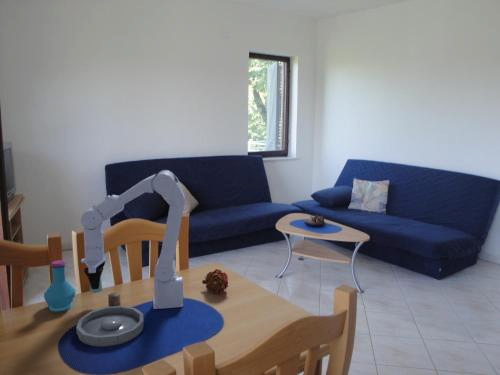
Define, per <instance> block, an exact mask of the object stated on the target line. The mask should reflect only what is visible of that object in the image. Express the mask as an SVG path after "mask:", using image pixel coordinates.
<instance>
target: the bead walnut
mask: <svg viewBox="0 0 500 375" xmlns="http://www.w3.org/2000/svg"><path fill="white" fill-rule="evenodd" d="M107 298H108V299H107V300H108V301H107V304H108V307H112V306H121V293H119V292H112V293H109V294H108V295H107Z"/></svg>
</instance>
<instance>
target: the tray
mask: <svg viewBox="0 0 500 375" xmlns="http://www.w3.org/2000/svg"><path fill="white" fill-rule="evenodd" d="M143 329H144V313H143V312H142V311H140V310H139V309H137V308H135V307H131V306H125V305H120V306H112V307H109V306H105V307H102V308H98V309H95V310H92V311H89V312H87V313H86V314H85V315H83V316H82V317H80V318H79V319H78V321H77V324H76V329H75V330H76V335H77V337H78V340H79V341H80V342H81V343H82V344H85V345H88V346H92V347H98V348H99V347H100V348H101V347H103V348H104V347H106V348H107V347H113V346H119V345H121V344H122V345H123V344H126V343H128V342H130V341H132V340H133V339H135V338H137V337H138V336H140V334H141V333H142V331H143Z"/></svg>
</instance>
